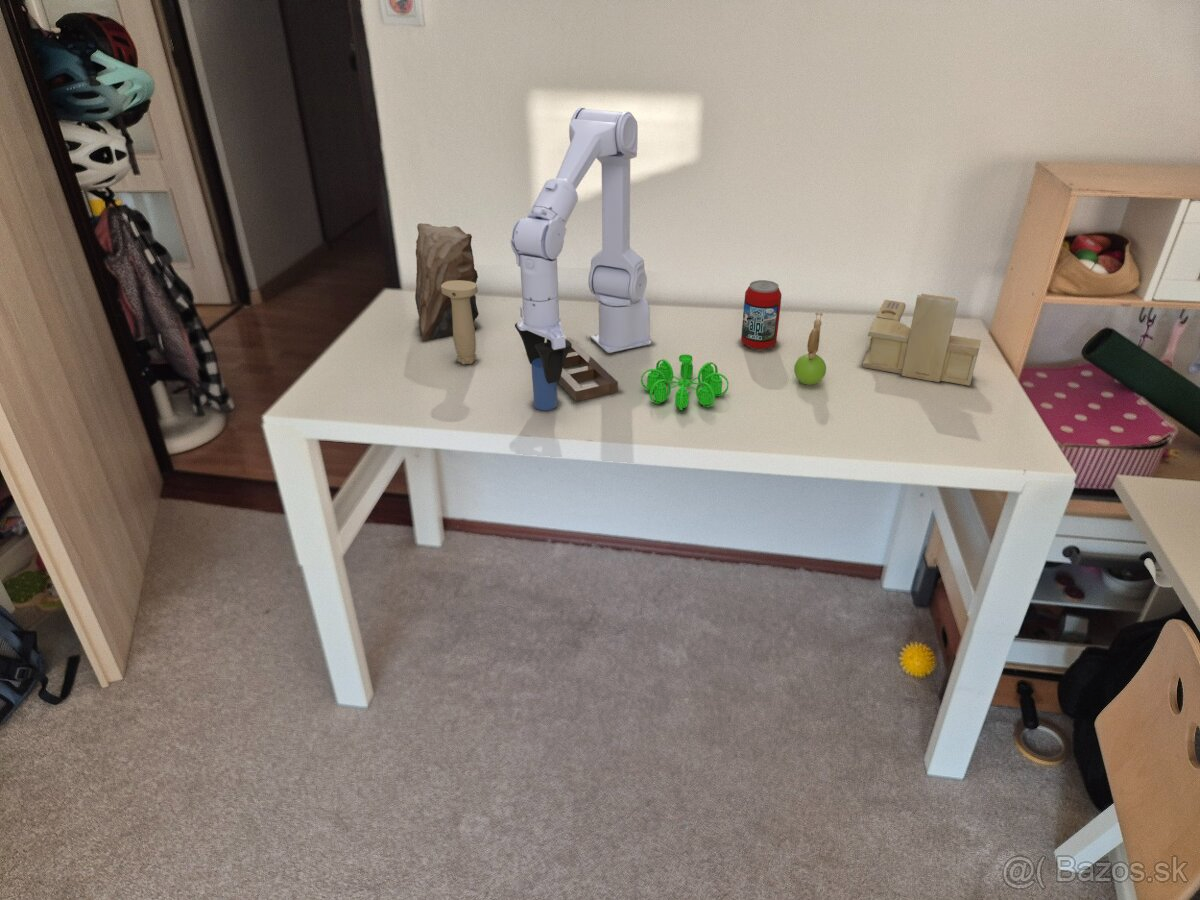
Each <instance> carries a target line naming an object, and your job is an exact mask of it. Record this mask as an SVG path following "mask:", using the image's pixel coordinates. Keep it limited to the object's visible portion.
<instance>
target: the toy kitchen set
mask: <svg viewBox="0 0 1200 900" xmlns="http://www.w3.org/2000/svg"><path fill="white" fill-rule="evenodd" d="M958 305H959V300H956V298H955V297H950V296H942V295H936V294H935V295H933V294H929V293H928V294H927V293H921V294H918V295H916V300H915V306H914V310H913V314H912V320H911V325H910V327H909V326H907V325H905V324H904V323H902V322H901V319H902V317H903V314H904V312H905V309H906V307H907V305H906V303H905V302H903V301H898V300H897V301H896V300H890V299H884V300H883V302H882V304H881V306H880V308H879V309H878V312H877V314H876V317H874V318H873V321H872V322H871V325H870V327H869V329H868V332H867V337H870V341H869V342H870V343H869V349H868V351H867V353H866V355H865V357H864V360H863V362H862V368H864V369H871V370H877V371H884V372H889V373H895V374H900V375H901V376H902V377H907V378H912V379H919V380H923V381H924V380H925V381H931V382H935V383H940V382H947V383H952V384H957V385H963V386H971V383H972V379H973V375H974V371H975V367H976V363H977V359H978V356H979V351H980V349H981V348H980V347H981V343H982V339H977V338H970V337H965V336H958V335H952V331H953V327H954V321H955V316H956V315H957V314H956V313H957V308H958Z"/></svg>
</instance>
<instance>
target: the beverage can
mask: <svg viewBox="0 0 1200 900" xmlns="http://www.w3.org/2000/svg"><path fill="white" fill-rule="evenodd" d="M779 287H780V286H779V284H778V283H776V282H774V281H772V280H765V279H762V280H760V279H759V280H753V281H751V282H750V283H749V286H748V287H747V289H746V290H745V292H744V302H743V311H742V322H741V323H742V324H741V325H742V326H741V338H740V339H741V342H742V344H744V345H745V346H747V347H748V348H749V349H752V350H758V351H759V350H767V349H769V348H771V347H774V346H775V344H777V340H778V332H779V324H780V313H781V306H782V305H781V303H782V292H781V289H780V288H779Z"/></svg>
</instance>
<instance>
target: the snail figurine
mask: <svg viewBox="0 0 1200 900" xmlns="http://www.w3.org/2000/svg"><path fill="white" fill-rule="evenodd" d="M815 316H816V317H815V318H816V319H815V320H814V321H813V328H812V329H811V331H810V333H809V336H808V340H807V352H808V353H805V354H802V355H801V356H800V357H798V359H797V360H796V361H795V363H794V368H793V372H794V375H795V378H796V379H797V380H798V381H799V382H800V383H801V384H804V385H807V386H813V385H816V384H818V383H820V382H821V381H822V380H823V379H824V377H825V376H826V373H827V365H826V362H825V360H824V359H823V358H822V357H821V356H820V355H818V354H817V353H818V351H819V347H820V338H821V337H820V335H821V326H822V320H821V319H822V316H823V312H819V311H815ZM818 316H820V317H819V318H818Z"/></svg>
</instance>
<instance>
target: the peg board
mask: <svg viewBox="0 0 1200 900" xmlns="http://www.w3.org/2000/svg"><path fill="white" fill-rule="evenodd" d="M565 340H568V341H569V342H570V343H571V344H572V347H571V350H570V351H569V353H568V354H567V356H566V359H565V361H564V365H563V369H562V373H561V377H560V381H558V382H557V383H558V384H559V385H560V387H562V389H563V390H564V391H565V392H566V393H567V394H568V395H569V396H570V397H571V398H572V399H573V400H574V401H575V403H576V402H577V403H578V402H581V401H585V400H589V399H595V398H598V397H602V396H606V395H611V394H615V393H618V392H619V381H618V380H616V379H615V377H613V376H612V375H611V374H610V373H609V372H608V371H607V370H606V369H605V368H604V367H603V366H602V365H600V363H598V362H597V361H596V360H595V359H594V358H593V357H592V356H591V355H590V354H589V353H588V352H587V351H586V350H584V349H583V348H582V347H581V346H580V345H579V344H578V343H577V342H576V341H574V340H573V338H572V337H571V336H569V337H565ZM545 342H546V343H547V341H544V343H545ZM574 366H581V367H576V368H572V369H567V370H566V369H565V368H570V367H574ZM590 380H595V381H596V382H592V383H586V384H582V385H581V384H580V383H581V382H586V381H590Z"/></svg>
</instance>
